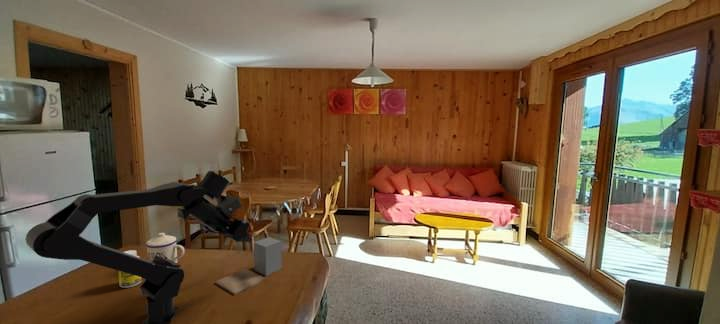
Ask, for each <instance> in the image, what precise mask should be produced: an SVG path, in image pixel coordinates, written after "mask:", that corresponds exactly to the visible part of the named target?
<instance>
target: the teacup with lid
mask: <svg viewBox="0 0 720 324" xmlns="http://www.w3.org/2000/svg"><path fill="white" fill-rule="evenodd" d="M177 241H178V239H177V238H176V236H174V235H167V234H166V233H165V232H159V233H158V234H157V236H155V237H153V238H151V239H149V240H148V241H147V242H146V243H145V246H146V250H147V252H146V253H147V260H154V258H155V256H156V255H157V256H159V257H161V258H163V259H169V260H171V261H173V262H175V263H177V264H178V259H181V258H182V257H183V256H184V255H185V247H184V246H183V245H181V244H177ZM177 249H180V251H181V252H180V255H178V250H177Z"/></svg>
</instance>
